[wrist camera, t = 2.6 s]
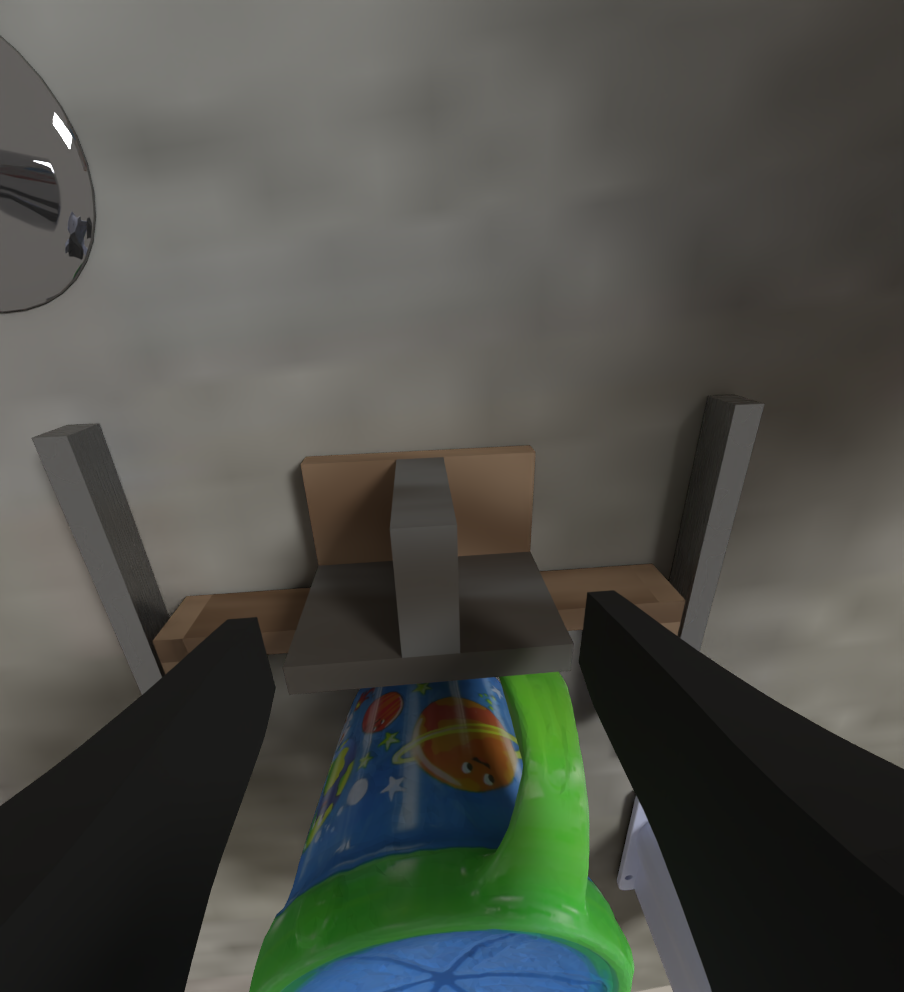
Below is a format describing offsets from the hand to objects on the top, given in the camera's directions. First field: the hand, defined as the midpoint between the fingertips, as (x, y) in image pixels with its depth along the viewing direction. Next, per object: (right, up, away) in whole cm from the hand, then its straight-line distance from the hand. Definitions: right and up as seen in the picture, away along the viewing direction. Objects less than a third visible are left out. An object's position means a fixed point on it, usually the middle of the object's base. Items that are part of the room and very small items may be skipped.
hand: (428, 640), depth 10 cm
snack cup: (-1, -7, +12) cm, 13 cm away
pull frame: (-1, -1, +9) cm, 9 cm away
